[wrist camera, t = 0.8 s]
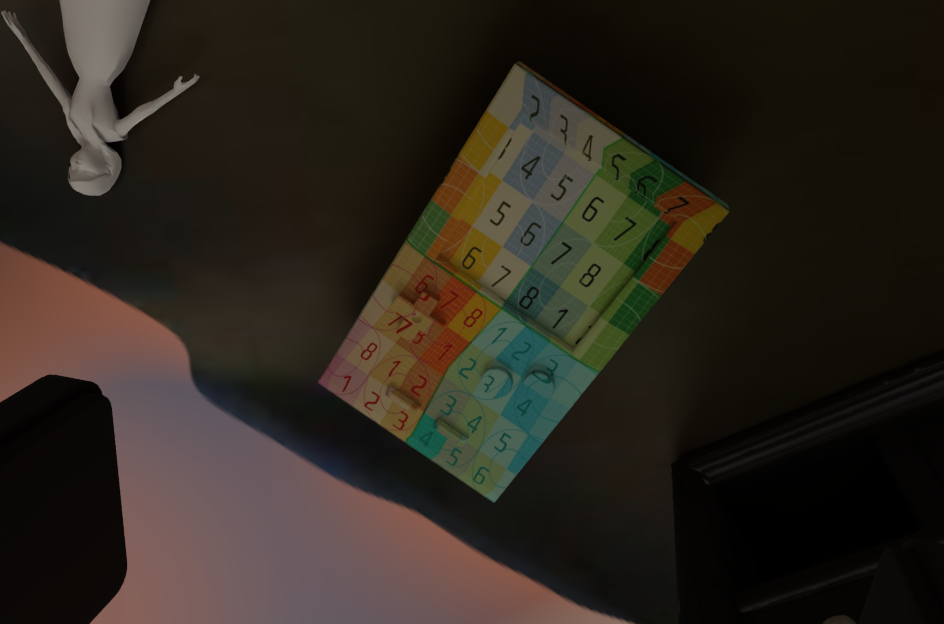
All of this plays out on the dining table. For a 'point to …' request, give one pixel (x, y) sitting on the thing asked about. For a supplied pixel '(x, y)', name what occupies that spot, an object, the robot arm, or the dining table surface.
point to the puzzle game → (518, 283)
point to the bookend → (810, 504)
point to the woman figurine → (96, 83)
